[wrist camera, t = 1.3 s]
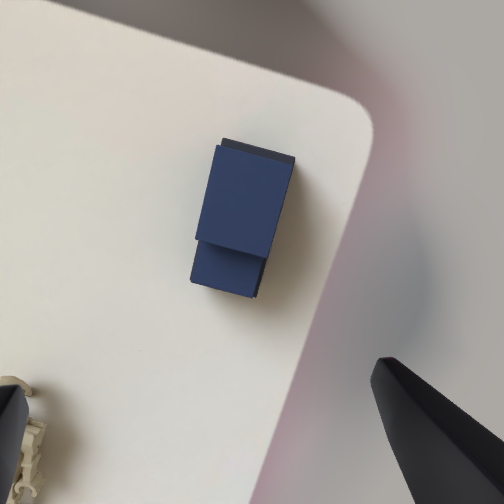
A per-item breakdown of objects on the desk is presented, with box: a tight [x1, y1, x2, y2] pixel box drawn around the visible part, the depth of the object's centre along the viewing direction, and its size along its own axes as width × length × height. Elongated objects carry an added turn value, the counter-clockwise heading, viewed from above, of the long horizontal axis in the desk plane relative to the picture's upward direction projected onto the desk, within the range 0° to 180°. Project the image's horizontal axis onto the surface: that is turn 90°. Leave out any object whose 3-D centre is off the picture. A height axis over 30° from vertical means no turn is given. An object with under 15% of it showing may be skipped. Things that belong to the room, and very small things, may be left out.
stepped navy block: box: [190, 138, 295, 298], centre depth 22 cm, size 9×4×6 cm, turn 165°
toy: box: [0, 376, 47, 504], centre depth 28 cm, size 6×4×15 cm
